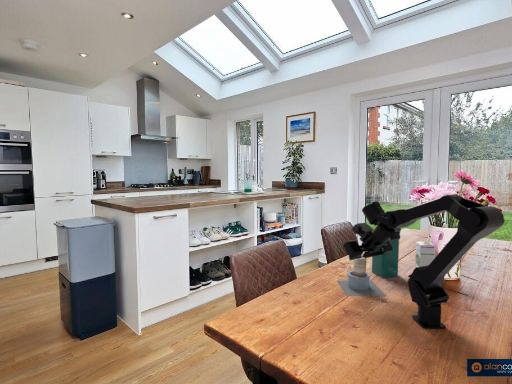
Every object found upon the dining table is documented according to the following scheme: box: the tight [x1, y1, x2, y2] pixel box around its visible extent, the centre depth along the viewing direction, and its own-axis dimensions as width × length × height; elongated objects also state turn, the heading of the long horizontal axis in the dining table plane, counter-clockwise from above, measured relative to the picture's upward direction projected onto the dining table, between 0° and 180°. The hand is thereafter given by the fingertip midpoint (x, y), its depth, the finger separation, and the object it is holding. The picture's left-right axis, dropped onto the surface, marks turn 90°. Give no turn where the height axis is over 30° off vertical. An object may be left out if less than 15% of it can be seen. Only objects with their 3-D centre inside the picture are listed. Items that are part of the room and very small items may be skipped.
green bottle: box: [371, 228, 402, 278], centre depth 124 cm, size 10×8×22 cm
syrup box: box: [414, 241, 436, 269], centre depth 120 cm, size 6×6×14 cm
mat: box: [336, 280, 387, 297], centre depth 109 cm, size 14×14×1 cm
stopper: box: [352, 257, 368, 277], centre depth 111 cm, size 4×4×10 cm
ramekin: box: [346, 270, 371, 290], centre depth 111 cm, size 8×8×4 cm
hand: (356, 258), depth 112 cm, fingers open, 6 cm apart
